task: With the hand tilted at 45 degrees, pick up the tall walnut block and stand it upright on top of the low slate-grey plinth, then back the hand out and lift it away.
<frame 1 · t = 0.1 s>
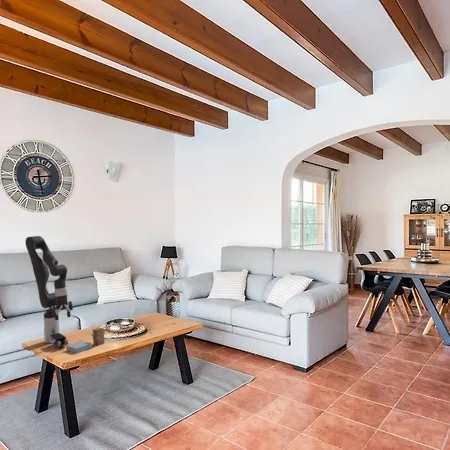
hand: (63, 318, 256), 17 cm above the table, tool pointing down, fingers open, 8 cm apart
slate plinth: (79, 349, 246), on the table
figurine character: (59, 346, 253), on the table
walnut block: (98, 343, 255), on the table
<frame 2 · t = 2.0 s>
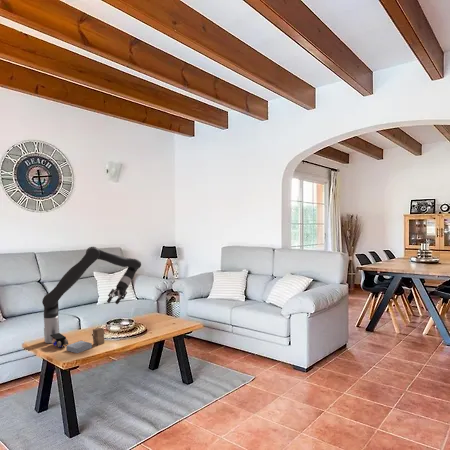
hand: (112, 303, 265), 25 cm above the table, tool tilted 45°, fingers open, 8 cm apart
nothing on the table moved.
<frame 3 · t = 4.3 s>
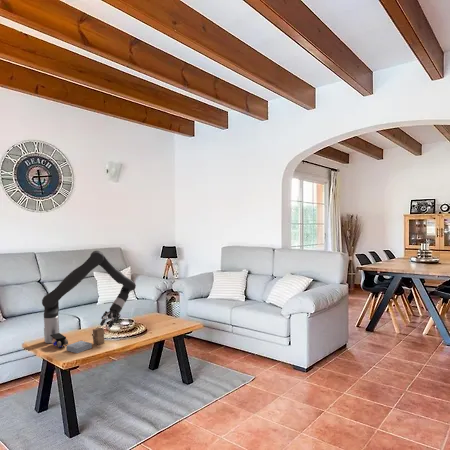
hand: (105, 326, 260), 10 cm above the table, tool tilted 45°, fingers open, 8 cm apart
nothing on the table moved.
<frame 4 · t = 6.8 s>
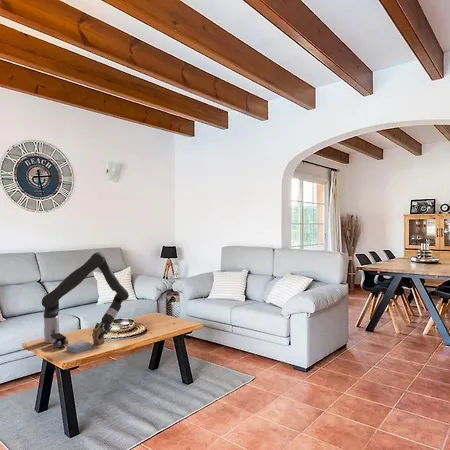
hand: (96, 338, 254), 4 cm above the table, tool tilted 45°, fingers closed on walnut block, 5 cm apart
walnut block: (98, 343, 255), on the table, touching gripper
everything else where it was.
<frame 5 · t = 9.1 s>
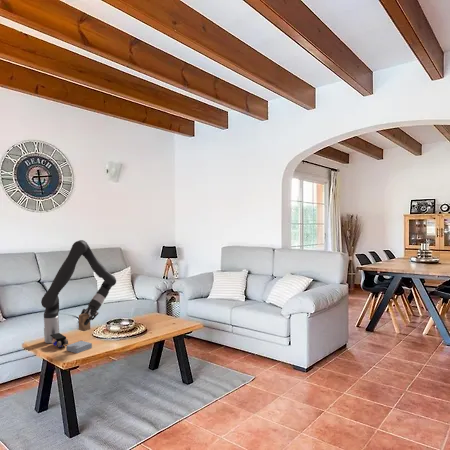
hand: (82, 324, 248), 16 cm above the table, tool tilted 45°, fingers closed on walnut block, 5 cm apart
walnut block: (84, 329, 249), point 11 cm above the table, touching gripper
everything else where it was.
when the fingers open (9 cm above the table, at t = 11.7 s): walnut block drops 1 cm, resting on slate plinth.
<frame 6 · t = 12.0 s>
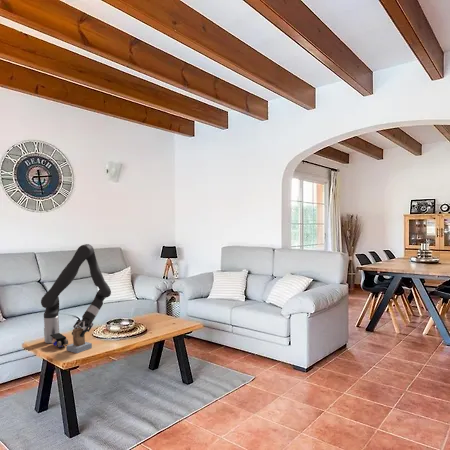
hand: (76, 335, 245), 9 cm above the table, tool tilted 45°, fingers open, 8 cm apart
walnut block: (79, 344, 246), point 3 cm above the table, touching slate plinth
everything else where it was.
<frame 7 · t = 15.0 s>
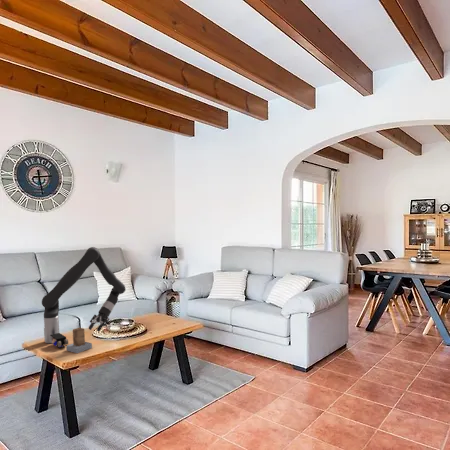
hand: (93, 330, 256), 9 cm above the table, tool tilted 45°, fingers open, 8 cm apart
nothing on the table moved.
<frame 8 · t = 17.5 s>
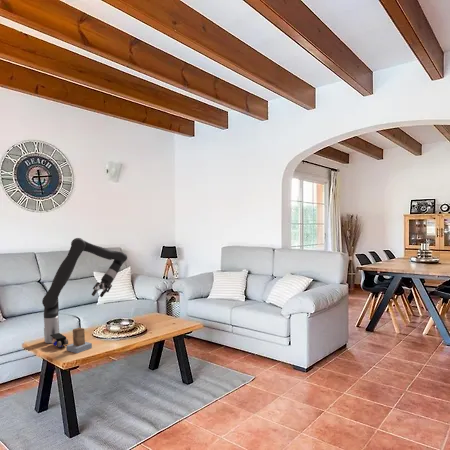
hand: (96, 296, 262), 31 cm above the table, tool tilted 45°, fingers open, 8 cm apart
nothing on the table moved.
at the end: walnut block inside the target area on the slate plinth (0.1 cm from its centre), point 3.0 cm above the slate plinth's base; walnut block tilted 0°; the gripper is holding nothing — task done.
